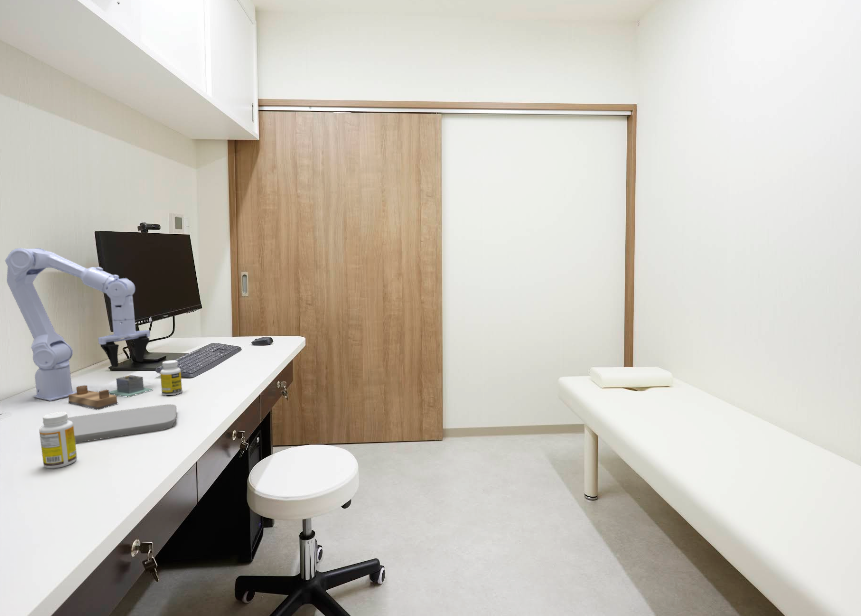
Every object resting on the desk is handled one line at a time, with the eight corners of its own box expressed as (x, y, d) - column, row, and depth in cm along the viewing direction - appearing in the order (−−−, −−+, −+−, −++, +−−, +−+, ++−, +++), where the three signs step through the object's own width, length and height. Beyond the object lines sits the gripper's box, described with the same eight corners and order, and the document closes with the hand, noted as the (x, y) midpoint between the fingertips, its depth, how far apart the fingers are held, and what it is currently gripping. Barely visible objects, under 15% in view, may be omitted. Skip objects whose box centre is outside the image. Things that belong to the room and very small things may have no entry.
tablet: (60, 427, 126) (59, 418, 126) (177, 411, 137) (176, 403, 137) (43, 450, 112) (42, 440, 112) (176, 430, 123) (175, 421, 123)
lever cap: (117, 391, 155) (115, 376, 155) (131, 387, 159) (130, 373, 159) (129, 393, 152) (128, 378, 152) (143, 389, 156) (142, 375, 156)
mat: (107, 393, 155) (107, 392, 155) (132, 386, 162) (132, 385, 162) (127, 397, 150) (127, 395, 150) (153, 390, 157) (153, 388, 157)
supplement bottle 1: (72, 455, 107) (67, 408, 106) (81, 462, 104) (75, 413, 103) (40, 464, 103) (34, 415, 102) (47, 472, 100) (42, 421, 98)
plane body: (68, 403, 145) (67, 388, 145) (88, 398, 150) (87, 383, 150) (97, 409, 139) (95, 393, 138) (117, 404, 144) (116, 388, 143)
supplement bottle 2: (174, 396, 150) (171, 363, 149) (157, 396, 151) (155, 363, 150) (186, 391, 155) (183, 359, 154) (170, 390, 156) (168, 359, 155)
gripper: (106, 323, 145) (111, 370, 147) (154, 316, 158) (158, 360, 159) (92, 322, 148) (96, 368, 150) (140, 315, 161) (144, 358, 163)
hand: (127, 363), depth 155 cm, fingers open, 7 cm apart
